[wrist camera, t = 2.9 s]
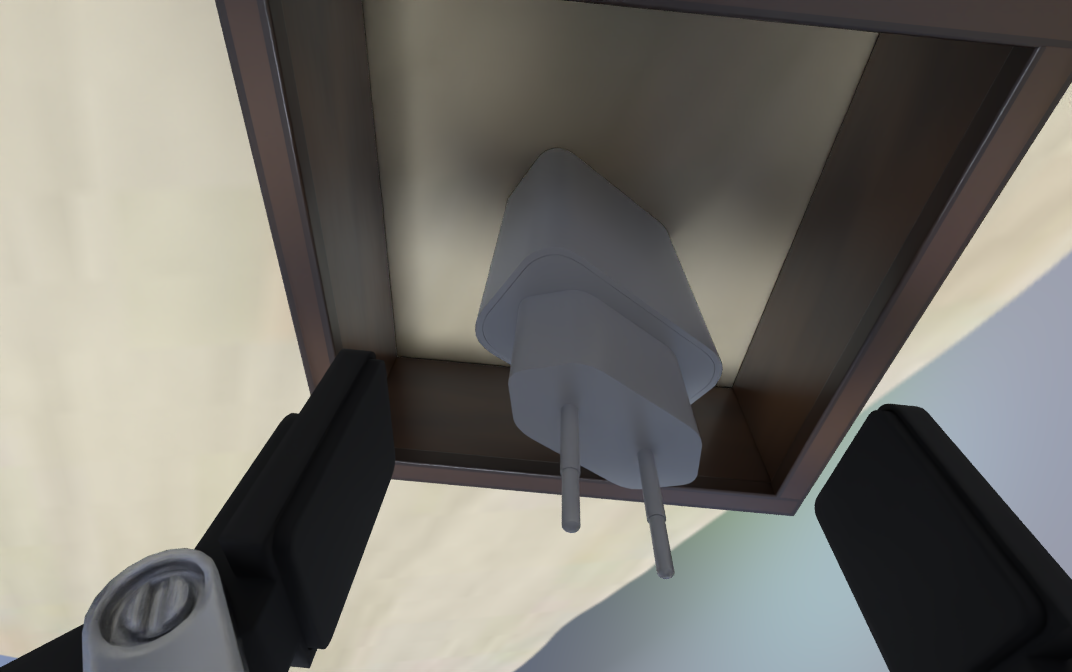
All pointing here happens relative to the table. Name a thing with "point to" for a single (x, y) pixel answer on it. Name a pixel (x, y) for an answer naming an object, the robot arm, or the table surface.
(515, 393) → the power adapter
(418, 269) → the table surface
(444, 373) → the square frame
